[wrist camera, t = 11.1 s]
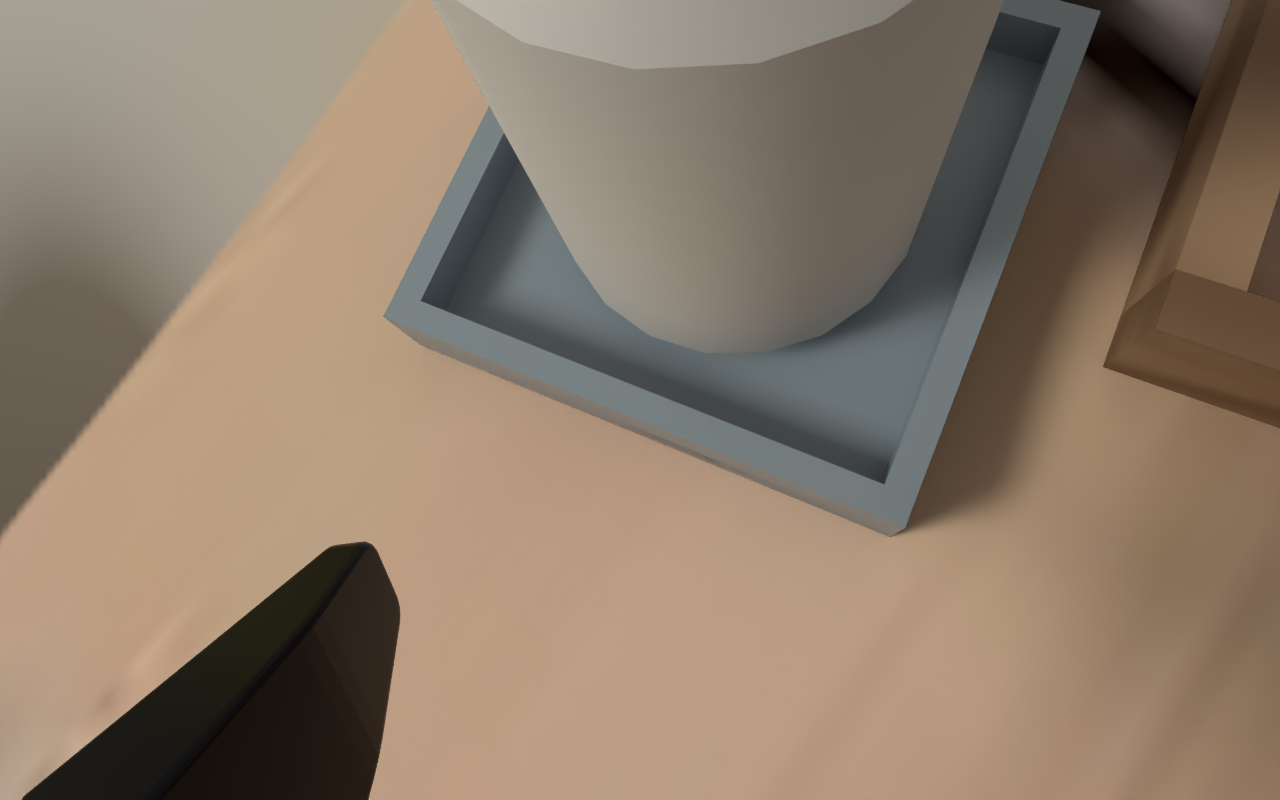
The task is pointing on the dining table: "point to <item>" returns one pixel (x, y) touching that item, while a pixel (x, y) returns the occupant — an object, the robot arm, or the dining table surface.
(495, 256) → the tray
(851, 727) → the dining table surface
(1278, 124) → the holder collar
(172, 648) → the dining table surface
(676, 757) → the dining table surface
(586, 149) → the can
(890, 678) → the dining table surface
